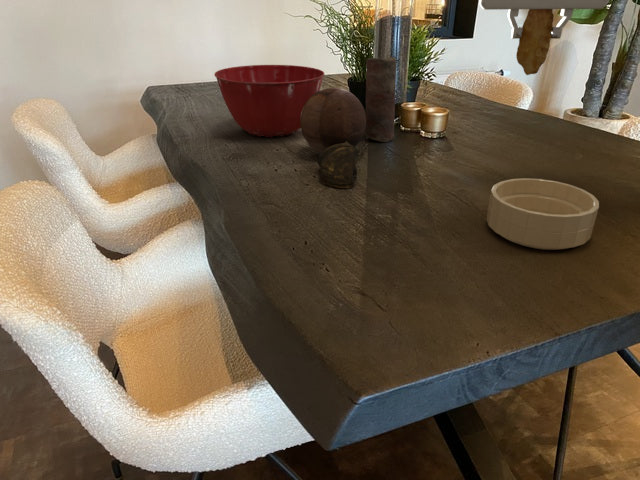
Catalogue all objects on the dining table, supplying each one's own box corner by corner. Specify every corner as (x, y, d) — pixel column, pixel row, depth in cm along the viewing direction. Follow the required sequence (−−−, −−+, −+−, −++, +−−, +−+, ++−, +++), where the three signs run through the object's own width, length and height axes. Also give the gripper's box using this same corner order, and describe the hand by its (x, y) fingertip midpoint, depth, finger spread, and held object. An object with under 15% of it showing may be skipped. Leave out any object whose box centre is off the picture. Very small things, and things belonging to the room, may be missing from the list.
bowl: (572, 213, 84) (581, 180, 82) (603, 256, 71) (614, 219, 68) (480, 208, 87) (485, 176, 84) (493, 249, 73) (500, 213, 70)
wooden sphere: (374, 149, 118) (377, 85, 111) (348, 168, 106) (349, 97, 99) (319, 141, 124) (319, 80, 117) (289, 158, 112) (286, 91, 105)
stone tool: (514, 75, 87) (530, -19, 80) (512, 73, 89) (527, -19, 82) (544, 76, 86) (563, -20, 79) (542, 74, 88) (559, -20, 82)
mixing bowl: (332, 119, 144) (332, 64, 136) (314, 148, 119) (313, 82, 112) (240, 116, 148) (235, 62, 141) (204, 143, 123) (196, 79, 116)
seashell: (366, 187, 95) (358, 153, 91) (321, 197, 96) (312, 164, 93) (361, 159, 109) (354, 129, 106) (322, 167, 110) (314, 138, 107)
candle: (359, 140, 124) (362, 57, 115) (369, 133, 130) (372, 54, 121) (388, 144, 121) (393, 59, 112) (397, 137, 127) (402, 55, 118)
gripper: (487, -54, 77) (475, 40, 84) (626, -58, 74) (603, 40, 81) (482, -52, 83) (471, 36, 89) (612, -55, 80) (591, 36, 86)
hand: (535, 38), depth 85 cm, fingers closed on stone tool, 5 cm apart
